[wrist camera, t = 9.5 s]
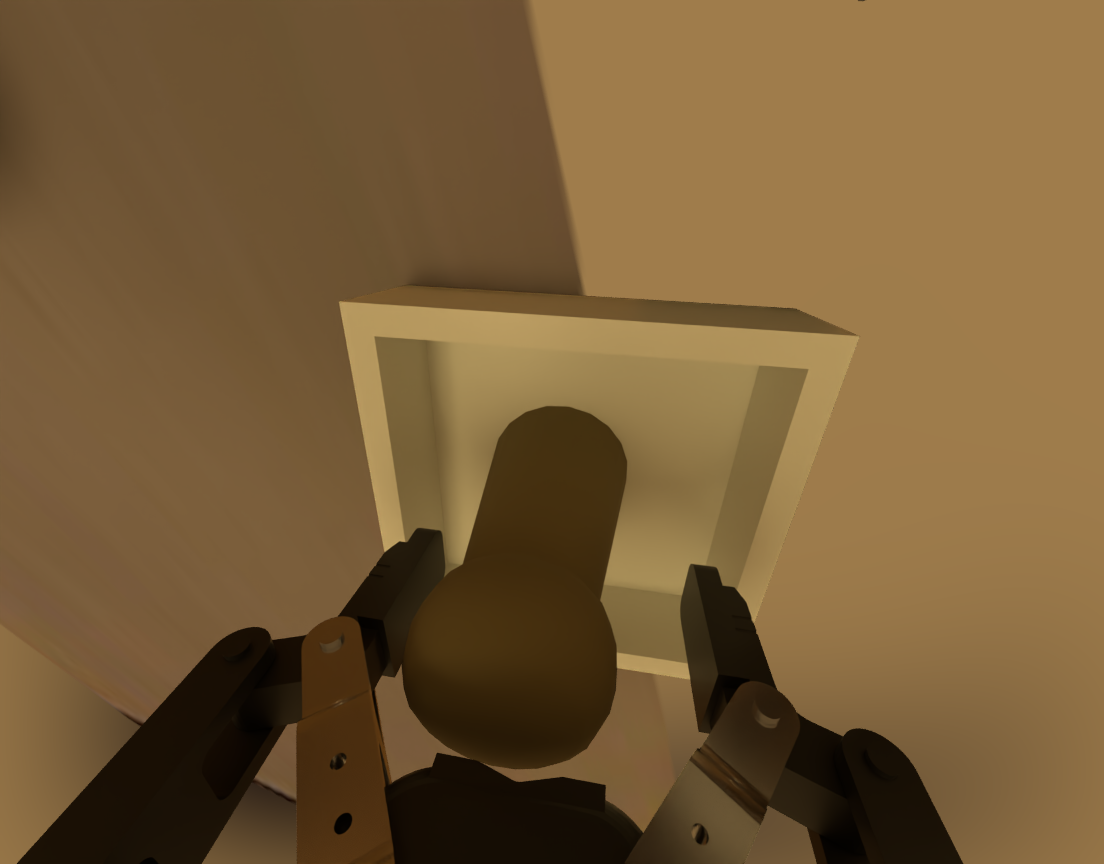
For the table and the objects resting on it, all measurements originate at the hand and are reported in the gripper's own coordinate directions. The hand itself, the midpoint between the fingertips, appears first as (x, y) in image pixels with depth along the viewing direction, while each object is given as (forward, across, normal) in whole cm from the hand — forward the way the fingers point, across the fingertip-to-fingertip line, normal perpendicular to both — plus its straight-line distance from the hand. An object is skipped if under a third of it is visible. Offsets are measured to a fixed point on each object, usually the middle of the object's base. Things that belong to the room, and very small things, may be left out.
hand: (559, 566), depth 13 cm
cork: (+6, +1, 0) cm, 6 cm away
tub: (+7, 0, 0) cm, 7 cm away
